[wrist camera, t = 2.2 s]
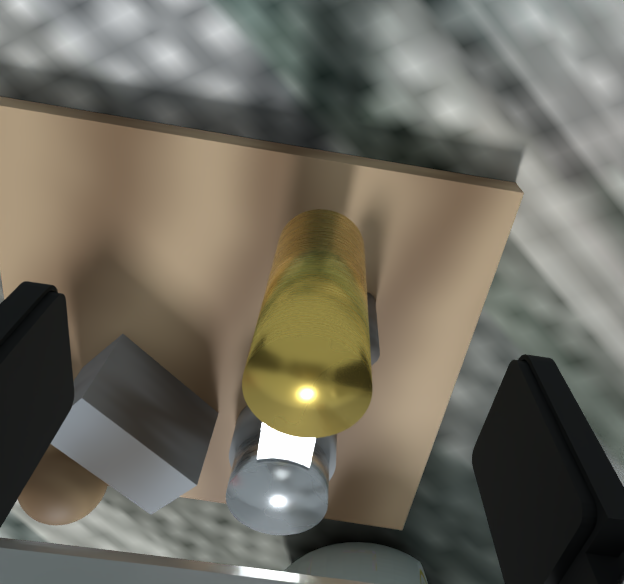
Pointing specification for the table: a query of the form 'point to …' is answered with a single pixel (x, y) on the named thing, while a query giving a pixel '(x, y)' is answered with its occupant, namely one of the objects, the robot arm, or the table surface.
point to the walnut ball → (60, 490)
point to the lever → (303, 373)
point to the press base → (235, 293)
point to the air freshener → (361, 564)
